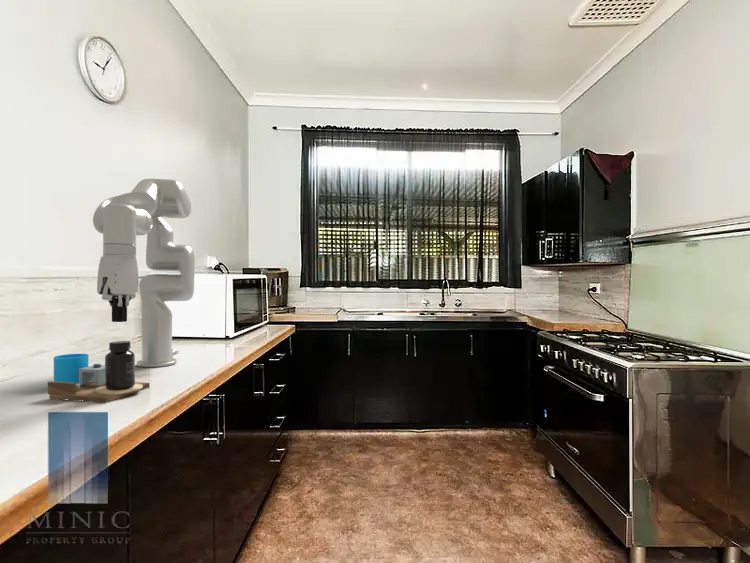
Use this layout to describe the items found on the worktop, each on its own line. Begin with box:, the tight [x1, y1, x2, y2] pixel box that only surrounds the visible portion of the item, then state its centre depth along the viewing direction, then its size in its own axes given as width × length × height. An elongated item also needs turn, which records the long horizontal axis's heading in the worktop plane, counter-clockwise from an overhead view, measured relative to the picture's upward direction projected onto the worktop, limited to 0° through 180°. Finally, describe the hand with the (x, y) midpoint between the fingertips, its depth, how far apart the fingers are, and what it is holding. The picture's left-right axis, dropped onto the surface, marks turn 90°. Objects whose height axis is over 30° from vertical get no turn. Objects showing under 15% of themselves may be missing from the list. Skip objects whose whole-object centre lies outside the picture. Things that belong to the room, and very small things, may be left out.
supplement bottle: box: [104, 340, 136, 390], centre depth 118 cm, size 7×7×12 cm
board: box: [47, 381, 151, 404], centre depth 119 cm, size 16×19×4 cm
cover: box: [79, 363, 105, 386], centre depth 124 cm, size 6×6×5 cm
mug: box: [53, 353, 89, 384], centre depth 129 cm, size 12×8×8 cm
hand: (119, 321), depth 118 cm, fingers closed
